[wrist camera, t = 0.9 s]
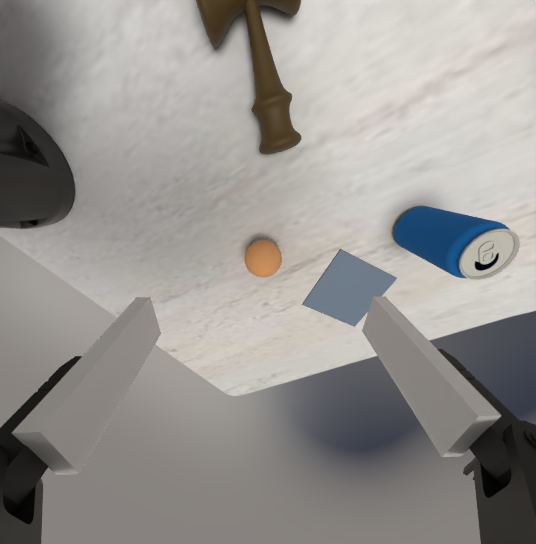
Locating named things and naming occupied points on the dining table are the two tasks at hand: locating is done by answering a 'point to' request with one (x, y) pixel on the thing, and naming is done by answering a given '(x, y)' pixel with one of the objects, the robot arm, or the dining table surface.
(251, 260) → the ball
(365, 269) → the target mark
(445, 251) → the beverage can
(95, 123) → the dining table surface
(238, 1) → the kendama
